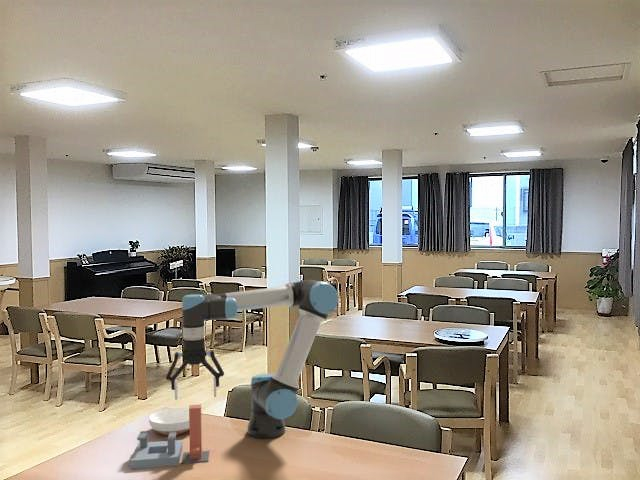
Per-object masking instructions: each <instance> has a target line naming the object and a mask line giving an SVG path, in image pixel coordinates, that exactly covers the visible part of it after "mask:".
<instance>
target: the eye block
mask: <svg viewBox="0 0 640 480" xmlns="http://www.w3.org/2000/svg"><path fill="white" fill-rule="evenodd" d="M148 436H149V435H148V430H142V431H140V432H139V434H138V436H137V441H139V442H138V443H137V444H136V446H135V449H134V451H133V454H132V456H131V458H130V470H136V469H137V470H138V469H150V468H153V469H154V468H162V467H163V468H164V467H176V466H180V461H181V458H182V457H181V456H182V452H183V447H184V446H183V440H182V439H176V437H177V435H176V432H173V433H169V435H167V436H168V437H167V440H164V441H163V440H162V441H150V442H149V440H148V439H149V437H148Z"/></svg>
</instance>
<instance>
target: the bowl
mask: <svg viewBox="0 0 640 480" xmlns="http://www.w3.org/2000/svg"><path fill="white" fill-rule="evenodd" d="M148 421H149V426H150V427H151V428H152V430H154V431H156V433H160V434H161V435H164V436H169V433H173V432H176V436H177V435H182V434H184V433H186V432H188V431H189V407H174V408H167V409H166V408H165V409H161V410H158V411H155V412H154V413H152V414H150V416H148Z"/></svg>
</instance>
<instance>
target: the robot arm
mask: <svg viewBox="0 0 640 480" xmlns="http://www.w3.org/2000/svg"><path fill="white" fill-rule="evenodd" d="M338 303H339V294H338V292H337V289H336V288H335V287H334V286H333V285H332V284H330V283H328V282H325V281H322V280H321V281H320V280H315V279H306V280H300V281H296V282H295V281H294V282H288V283H286V284H285V285H284V286H275V287H267V288H260V289H259V288H258V289H251V290H250V289H249V290H241V291H233V292H225V293H208V294H205V295H202V294H197V293H196V294H186V295H184V296H183V297H182V299H181V314H182V316H181V317H182V337H183V341H182V342H183V343H182V344H183V348H182V349H183V351H182V352H178V351H176V352H175V353H174V359H173V361H172V364H171V366H170V368H169V370H168V372H167V374H166V377H165V380H166V381H170V384H171V386H170V387H171V391H174V400H175V401H177V400H178V398H179V394H178V393H179V392H178V391H179V389H178V386H179V385H178V377H179V375H180V374H181V373H182V371H183V370H184V369H185V368H186V367H187V365H190V366H194V365H200V364H201V365H202V366H204V367H205V368H206V369H207V370H208V371H209V372H210V374H211V375H213V397H214V398H217V388H219V387H220V378H221V377H224V375H225V372H224V370H223V368H222V366H221V364H220V363H219V361H218V359H217V357H216V356H215V350H214V349H211V350H207V351H206V339H205V338H204V337H205V334H206V332H205V321H214V320H228V319H233V318H236V316H237V315H238V312H241V311H250V310H257V309H264V308H271V307H272V308H273V307H280V306H281V307H282V306H287V307H288V308H291V307H298V312H299V317H298V318H297V321H296V324H295V326H294V330H292V331H293V332H292V334H291V337H290V339H289V342H288V344H287V346H286V349H285V350H284V351H285V352H284V354H283V357H282V359H281V361H280V364H279V366H278V369H277V371H276V373H261V374H256V375H253V376H252V377H251V381H250V389H251V390H250V392H251V393H250V394H251V396H250V397H251V400H250V401H251V415H250V418H249V421H248V425H247V434H248V436H250V437H253V438H257V439H271V438H277V437H280V436H283V434H285V433H286V424H285V421H284V419H287V418H289V417H290V416H292V415H293V414H294V413H295V411H296V410H297V407H298V398H297V394H298V392H299V389H300V385H299V383H298V380H299V378H300V375H301V373H302V370H303V369H304V365H305V363H306V360H307V358H308V356H309V353H310V350H311V348H312V345H313V343H314V340H315V339H316V335H317V333H318V331H319V329H320V325H321V323H324V322H326V321H327V318H328V316H329V314H330V313H332V312H333V311H334V310H335V309H336V308H337V306H338ZM206 356H208V358H211V361H212V363H213V364H214V366H215V368H216V369H217V371H216V370H215V368H213V366H212V365H211V364H210V363H209V361H208V360H206ZM181 357H182V358H183V360H184V361H183V362H182V364H181V365H180V366H179V367H178V369H177V370H176V371H175V373H174V374H173V375H172V373H173V371H174V369H175V367H176V365H177V363H178V360H180V359H181Z"/></svg>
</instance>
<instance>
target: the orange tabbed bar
mask: <svg viewBox="0 0 640 480" xmlns="http://www.w3.org/2000/svg"><path fill="white" fill-rule="evenodd" d="M188 408H189V430H188V431H189V452H190V459H197V458H202V451H203V436H202V435H203V433H202V432H203V430H202V404H190V405H189V406H188Z"/></svg>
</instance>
